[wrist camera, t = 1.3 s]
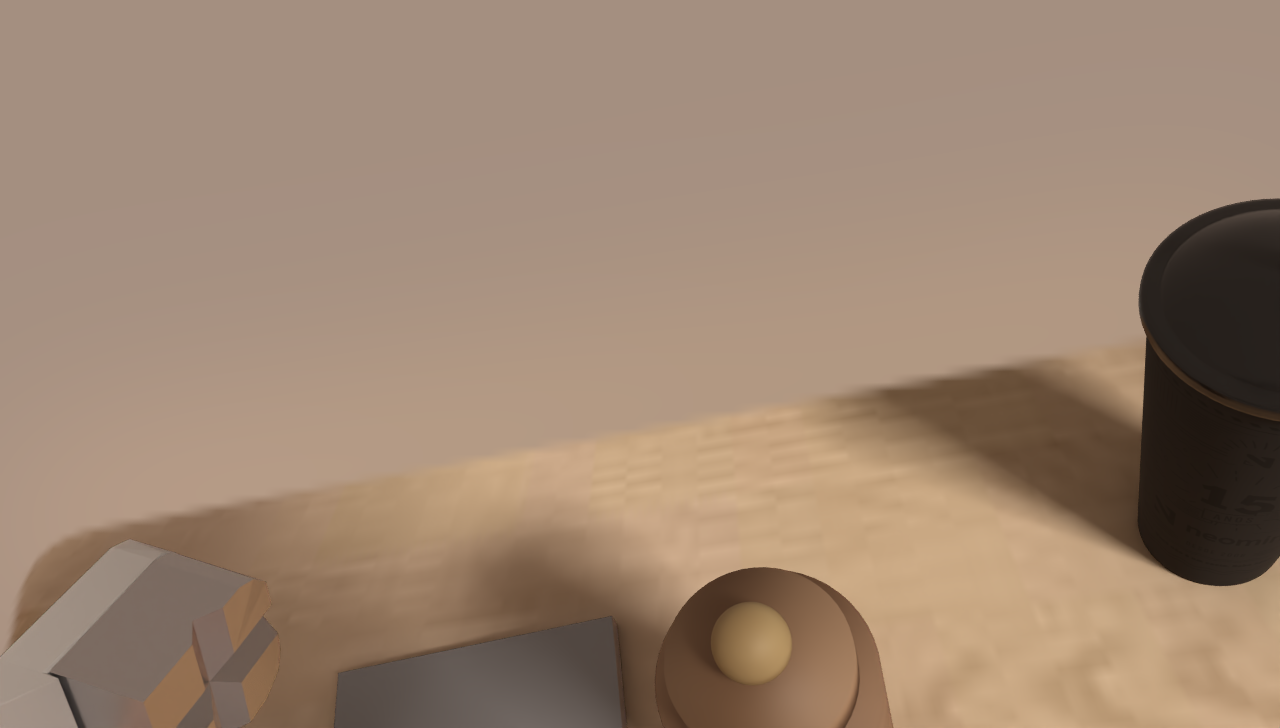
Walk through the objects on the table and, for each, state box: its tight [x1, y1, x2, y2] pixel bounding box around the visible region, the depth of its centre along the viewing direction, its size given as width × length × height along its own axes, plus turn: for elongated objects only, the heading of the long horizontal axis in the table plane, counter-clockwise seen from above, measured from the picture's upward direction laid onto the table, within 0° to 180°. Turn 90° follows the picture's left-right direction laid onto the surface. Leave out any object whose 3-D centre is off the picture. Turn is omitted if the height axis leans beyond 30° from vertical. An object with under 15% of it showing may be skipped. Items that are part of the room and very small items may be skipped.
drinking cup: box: [1138, 199, 1280, 586], centre depth 31 cm, size 8×8×20 cm
